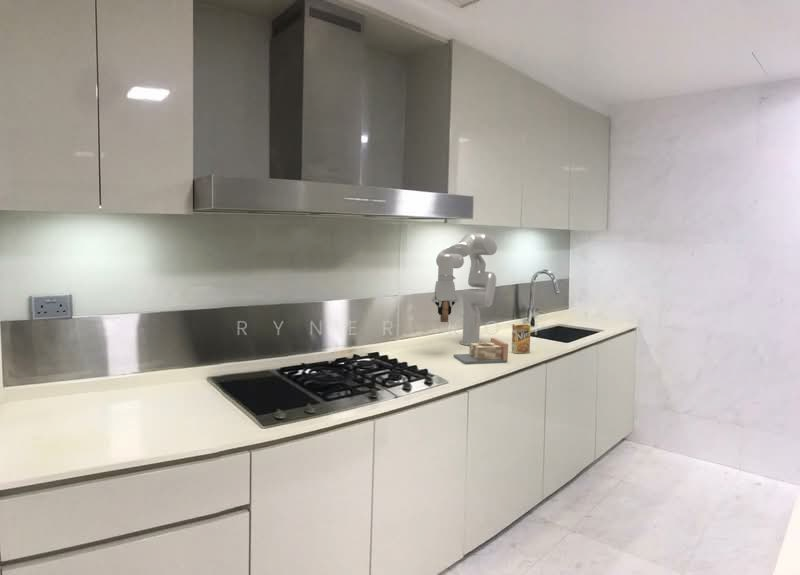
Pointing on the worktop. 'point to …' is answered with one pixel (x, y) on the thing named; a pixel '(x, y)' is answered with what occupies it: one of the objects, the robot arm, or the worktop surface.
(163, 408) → the worktop surface
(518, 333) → the candy box
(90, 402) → the worktop surface
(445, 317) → the dowel
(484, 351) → the socket block
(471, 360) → the rail board
